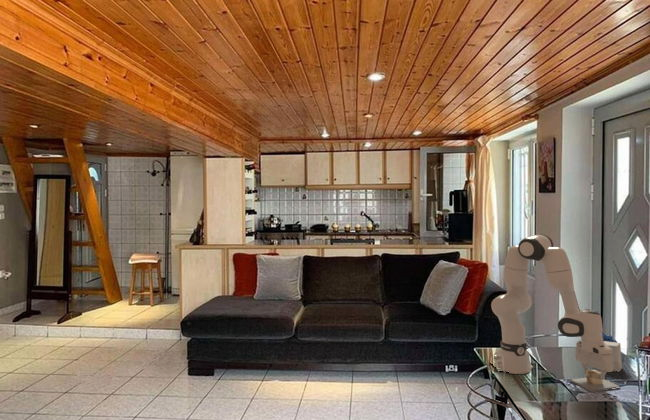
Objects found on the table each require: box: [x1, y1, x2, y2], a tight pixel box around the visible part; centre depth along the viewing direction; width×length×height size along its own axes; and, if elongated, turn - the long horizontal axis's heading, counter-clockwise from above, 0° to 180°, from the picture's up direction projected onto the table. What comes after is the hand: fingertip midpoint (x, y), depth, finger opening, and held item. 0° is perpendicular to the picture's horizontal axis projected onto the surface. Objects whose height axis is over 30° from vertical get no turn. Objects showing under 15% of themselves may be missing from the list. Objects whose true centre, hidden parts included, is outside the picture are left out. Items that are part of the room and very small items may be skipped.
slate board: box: [570, 377, 621, 393], centre depth 219 cm, size 14×14×1 cm
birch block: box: [585, 369, 603, 385], centre depth 219 cm, size 4×4×5 cm
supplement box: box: [604, 341, 623, 373], centre depth 238 cm, size 7×7×13 cm
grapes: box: [602, 332, 618, 343], centre depth 259 cm, size 12×7×12 cm, turn 61°
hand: (594, 375), depth 219 cm, fingers open, 8 cm apart
